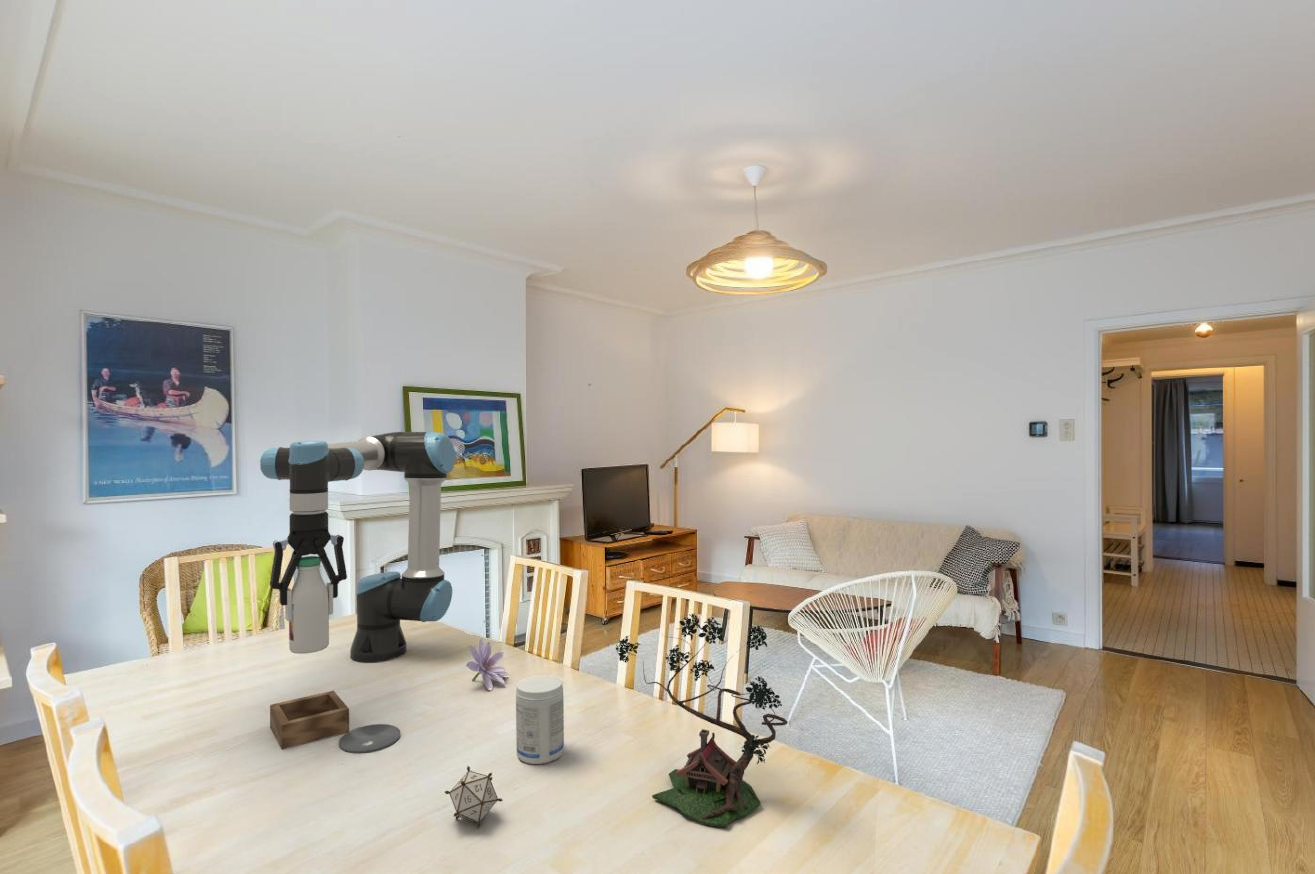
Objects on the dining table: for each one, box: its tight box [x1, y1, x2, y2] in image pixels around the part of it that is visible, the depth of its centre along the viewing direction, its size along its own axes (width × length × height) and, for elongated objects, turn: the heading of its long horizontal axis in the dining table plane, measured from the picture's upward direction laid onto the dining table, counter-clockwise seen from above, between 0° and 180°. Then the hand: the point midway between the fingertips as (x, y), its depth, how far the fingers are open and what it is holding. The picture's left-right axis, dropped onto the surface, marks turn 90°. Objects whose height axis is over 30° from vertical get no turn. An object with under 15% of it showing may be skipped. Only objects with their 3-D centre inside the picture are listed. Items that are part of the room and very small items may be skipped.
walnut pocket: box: [269, 690, 350, 750], centre depth 148 cm, size 13×13×5 cm
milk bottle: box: [288, 555, 330, 655], centre depth 147 cm, size 8×8×20 cm
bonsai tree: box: [615, 613, 789, 828], centre depth 126 cm, size 35×24×32 cm
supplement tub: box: [515, 674, 565, 765], centre depth 137 cm, size 10×10×15 cm
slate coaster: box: [338, 723, 401, 754], centre depth 143 cm, size 12×12×1 cm
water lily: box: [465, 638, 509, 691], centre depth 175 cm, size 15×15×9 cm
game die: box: [444, 765, 504, 829], centre depth 114 cm, size 9×8×10 cm
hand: (309, 615), depth 147 cm, fingers closed on milk bottle, 7 cm apart
